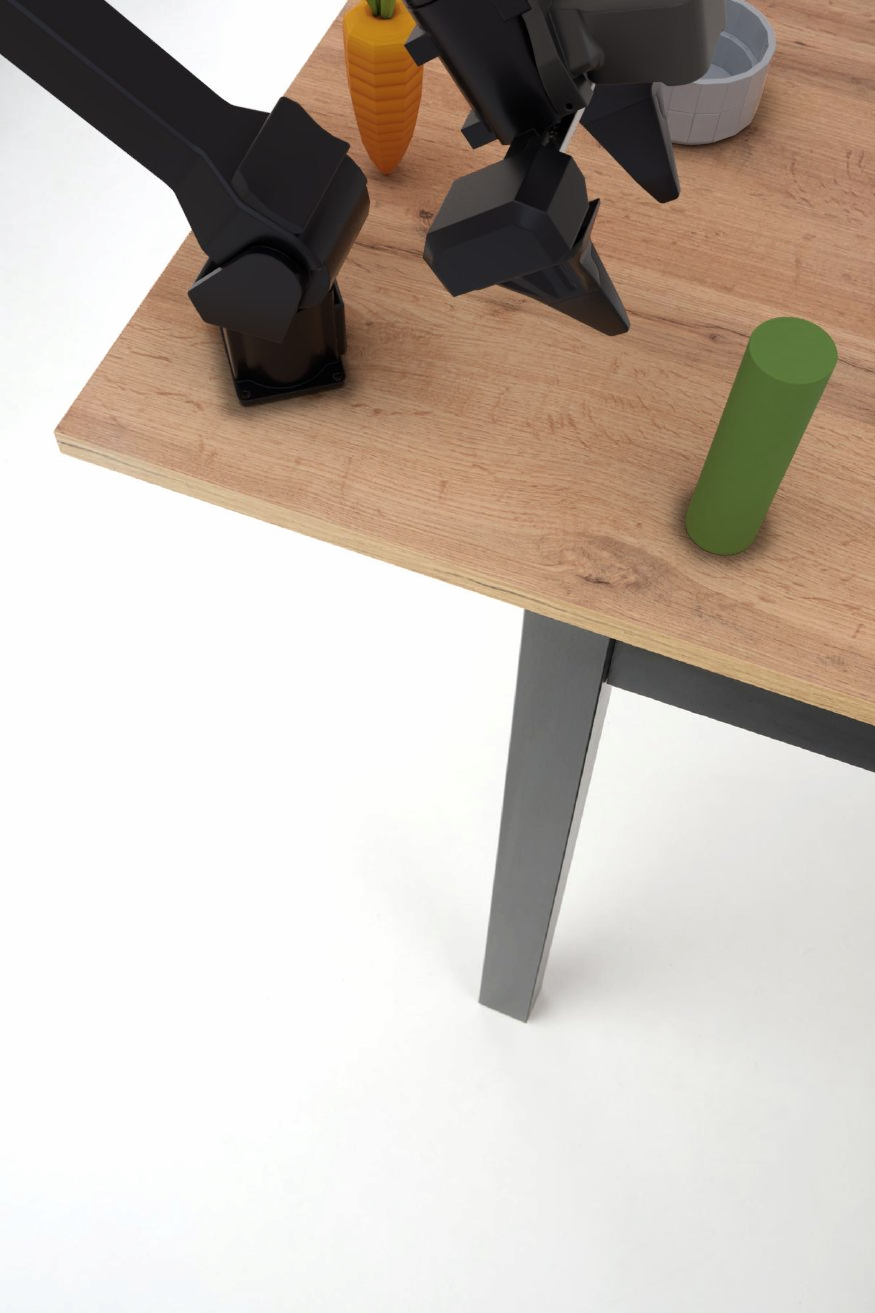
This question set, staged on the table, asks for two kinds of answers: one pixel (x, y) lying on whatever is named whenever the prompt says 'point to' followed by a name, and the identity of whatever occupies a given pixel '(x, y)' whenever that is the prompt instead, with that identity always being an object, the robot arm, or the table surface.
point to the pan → (724, 81)
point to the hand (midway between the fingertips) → (647, 263)
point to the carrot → (382, 78)
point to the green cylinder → (759, 431)
